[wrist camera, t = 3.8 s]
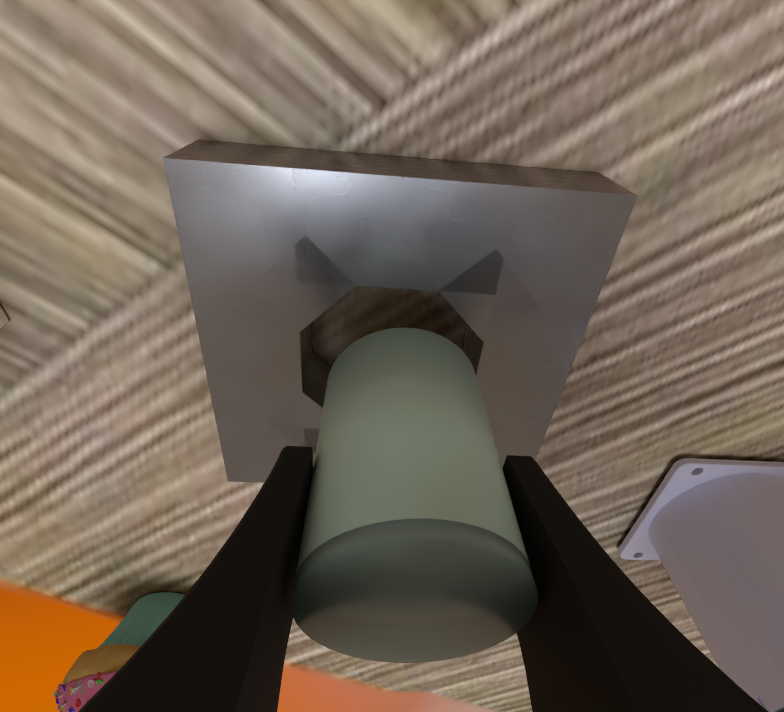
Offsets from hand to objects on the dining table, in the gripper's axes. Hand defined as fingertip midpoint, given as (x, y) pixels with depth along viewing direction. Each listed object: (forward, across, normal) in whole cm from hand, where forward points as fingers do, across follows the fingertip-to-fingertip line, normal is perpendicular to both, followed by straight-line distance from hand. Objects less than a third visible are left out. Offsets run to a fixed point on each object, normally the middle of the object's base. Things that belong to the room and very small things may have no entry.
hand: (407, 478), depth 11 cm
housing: (+7, 0, 0) cm, 7 cm away
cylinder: (+3, 0, 0) cm, 3 cm away
